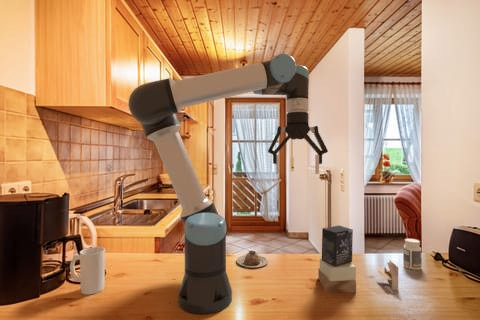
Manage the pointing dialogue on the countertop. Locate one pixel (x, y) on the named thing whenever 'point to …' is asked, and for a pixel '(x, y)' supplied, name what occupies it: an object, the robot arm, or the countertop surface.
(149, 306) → the countertop surface
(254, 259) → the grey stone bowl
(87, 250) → the mug
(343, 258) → the box
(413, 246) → the pill bottle
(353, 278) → the tower top
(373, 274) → the countertop surface
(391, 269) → the architectural model
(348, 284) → the tower base
